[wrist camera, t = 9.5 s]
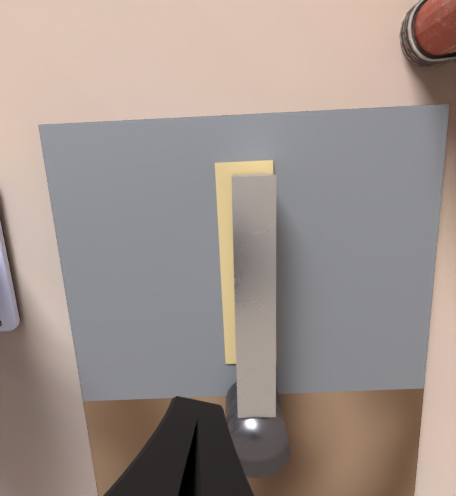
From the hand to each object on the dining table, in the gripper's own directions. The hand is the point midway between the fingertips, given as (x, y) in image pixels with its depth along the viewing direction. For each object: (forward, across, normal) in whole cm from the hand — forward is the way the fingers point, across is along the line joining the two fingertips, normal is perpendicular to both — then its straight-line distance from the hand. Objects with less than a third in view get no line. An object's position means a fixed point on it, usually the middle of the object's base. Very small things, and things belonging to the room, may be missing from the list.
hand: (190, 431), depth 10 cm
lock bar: (+8, -2, -1) cm, 8 cm away
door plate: (+9, -1, -2) cm, 10 cm away
